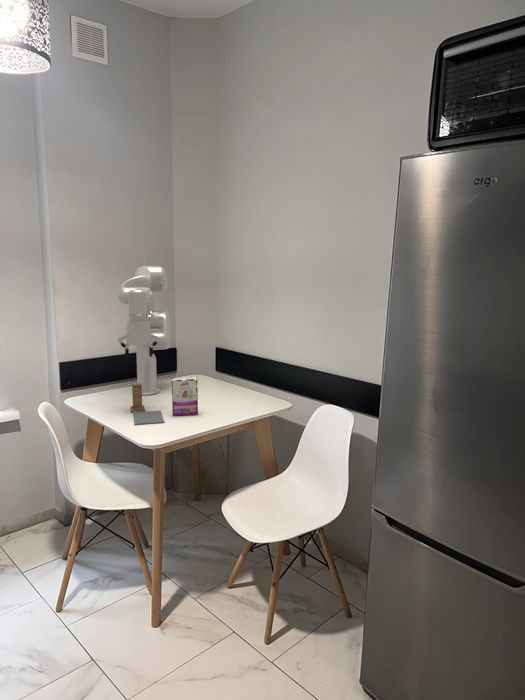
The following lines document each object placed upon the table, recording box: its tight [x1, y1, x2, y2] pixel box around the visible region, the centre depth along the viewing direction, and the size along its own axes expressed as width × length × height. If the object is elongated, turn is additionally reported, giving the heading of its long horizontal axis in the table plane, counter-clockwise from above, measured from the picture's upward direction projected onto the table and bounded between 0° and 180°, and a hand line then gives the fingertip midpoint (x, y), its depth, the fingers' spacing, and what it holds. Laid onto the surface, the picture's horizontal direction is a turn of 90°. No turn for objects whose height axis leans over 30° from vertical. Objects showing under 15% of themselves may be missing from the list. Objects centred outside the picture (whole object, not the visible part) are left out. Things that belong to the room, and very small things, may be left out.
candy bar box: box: [171, 376, 199, 417], centre depth 224 cm, size 11×5×16 cm, turn 101°
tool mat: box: [132, 410, 165, 426], centre depth 219 cm, size 16×12×1 cm
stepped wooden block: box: [130, 383, 146, 414], centre depth 228 cm, size 6×6×12 cm
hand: (139, 357), depth 222 cm, fingers open, 9 cm apart
